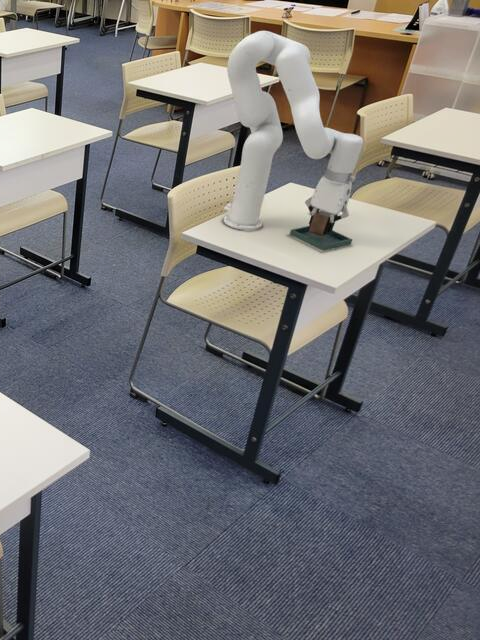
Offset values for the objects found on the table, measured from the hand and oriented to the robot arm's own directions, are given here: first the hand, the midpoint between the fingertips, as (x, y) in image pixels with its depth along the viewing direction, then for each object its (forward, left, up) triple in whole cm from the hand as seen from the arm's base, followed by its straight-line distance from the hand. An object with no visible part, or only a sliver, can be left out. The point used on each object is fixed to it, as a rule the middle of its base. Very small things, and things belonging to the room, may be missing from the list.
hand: (319, 229), depth 226 cm
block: (0, 0, -1) cm, 1 cm away
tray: (+1, +1, -4) cm, 4 cm away
